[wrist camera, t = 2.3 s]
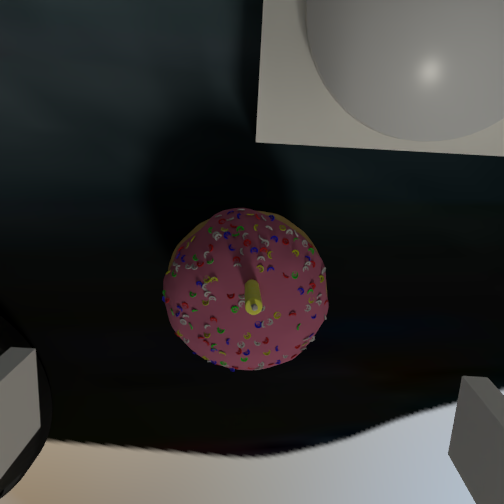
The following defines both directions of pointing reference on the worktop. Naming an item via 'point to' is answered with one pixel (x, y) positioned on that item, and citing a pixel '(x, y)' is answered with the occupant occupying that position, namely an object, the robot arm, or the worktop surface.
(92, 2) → the worktop surface
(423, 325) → the worktop surface
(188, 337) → the cupcake
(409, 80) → the scale
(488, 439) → the robot arm
